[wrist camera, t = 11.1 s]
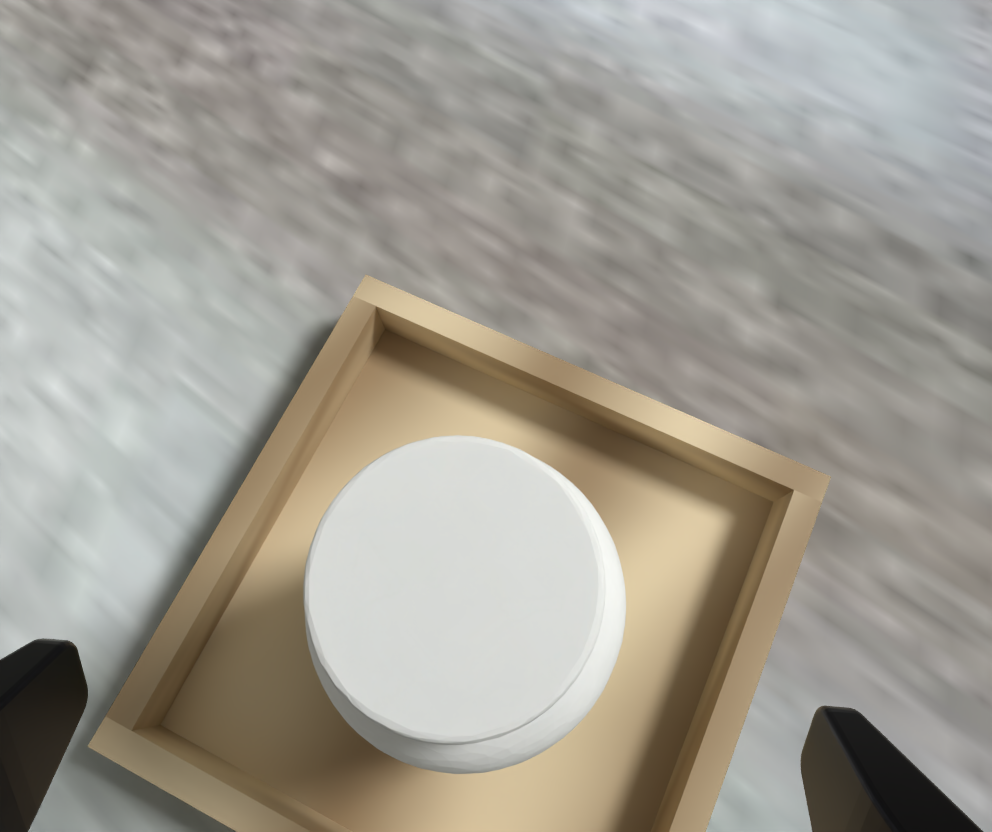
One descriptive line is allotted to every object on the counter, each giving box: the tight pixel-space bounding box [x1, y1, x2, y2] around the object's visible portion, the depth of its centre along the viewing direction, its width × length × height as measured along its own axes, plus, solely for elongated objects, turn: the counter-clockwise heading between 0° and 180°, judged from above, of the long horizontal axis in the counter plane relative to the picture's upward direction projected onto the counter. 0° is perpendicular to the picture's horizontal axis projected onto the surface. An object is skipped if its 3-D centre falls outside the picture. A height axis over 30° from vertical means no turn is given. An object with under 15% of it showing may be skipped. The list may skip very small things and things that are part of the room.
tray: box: [87, 275, 831, 832], centre depth 19 cm, size 13×13×2 cm
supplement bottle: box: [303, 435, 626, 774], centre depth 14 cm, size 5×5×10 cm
